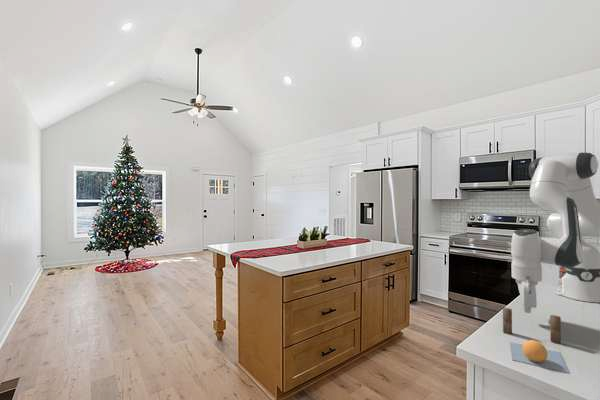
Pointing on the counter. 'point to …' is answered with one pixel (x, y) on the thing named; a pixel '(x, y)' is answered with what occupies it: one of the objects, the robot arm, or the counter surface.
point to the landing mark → (551, 362)
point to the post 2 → (555, 329)
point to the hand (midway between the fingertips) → (527, 311)
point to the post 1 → (507, 321)
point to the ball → (534, 351)
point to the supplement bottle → (561, 272)
